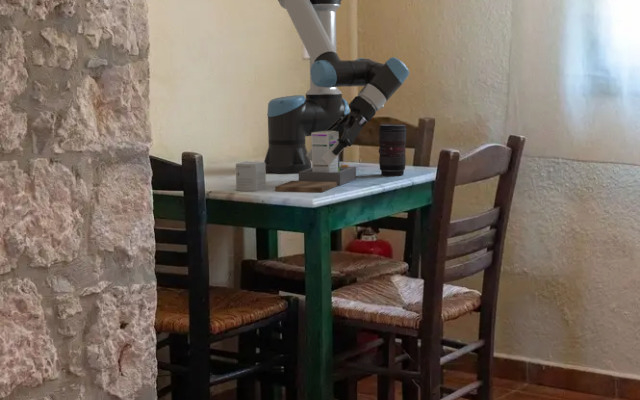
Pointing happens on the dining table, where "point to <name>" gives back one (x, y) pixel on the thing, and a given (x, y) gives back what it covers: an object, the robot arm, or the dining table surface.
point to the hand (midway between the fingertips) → (316, 160)
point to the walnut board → (306, 186)
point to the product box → (250, 176)
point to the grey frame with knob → (330, 175)
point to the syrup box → (323, 151)
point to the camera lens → (392, 149)
